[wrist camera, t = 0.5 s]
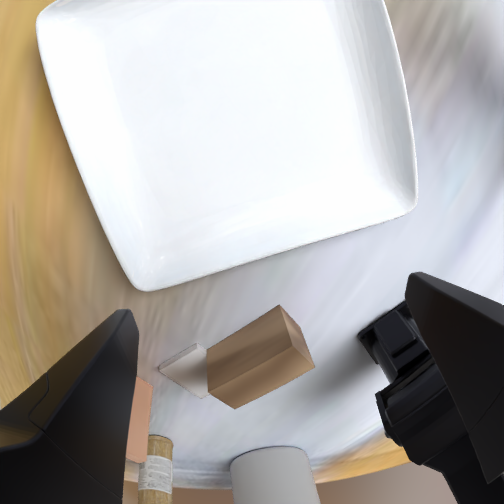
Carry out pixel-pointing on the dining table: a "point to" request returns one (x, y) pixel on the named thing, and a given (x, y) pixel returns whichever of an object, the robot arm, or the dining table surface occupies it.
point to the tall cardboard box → (244, 361)
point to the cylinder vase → (273, 477)
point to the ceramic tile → (139, 422)
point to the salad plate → (229, 125)
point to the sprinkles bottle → (156, 472)
